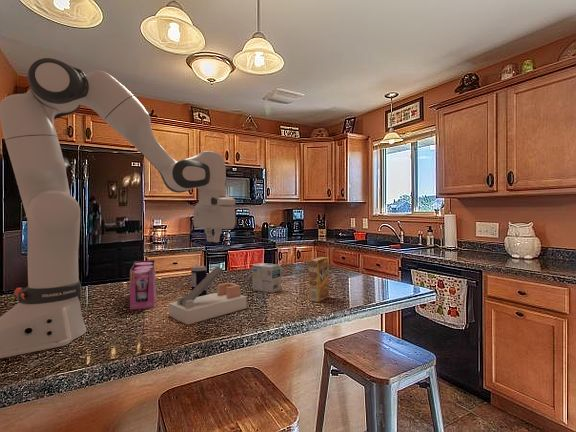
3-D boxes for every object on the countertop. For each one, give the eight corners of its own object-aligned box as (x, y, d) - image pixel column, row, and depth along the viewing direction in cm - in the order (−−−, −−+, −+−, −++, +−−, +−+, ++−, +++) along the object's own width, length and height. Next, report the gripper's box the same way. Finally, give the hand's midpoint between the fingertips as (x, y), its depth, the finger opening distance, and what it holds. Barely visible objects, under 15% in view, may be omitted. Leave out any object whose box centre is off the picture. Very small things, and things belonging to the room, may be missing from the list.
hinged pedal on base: (187, 324, 96) (187, 299, 96) (168, 315, 105) (168, 292, 104) (246, 308, 112) (246, 286, 112) (226, 301, 120) (225, 281, 120)
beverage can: (202, 300, 123) (202, 268, 122) (188, 299, 124) (188, 267, 123) (209, 296, 128) (208, 265, 128) (195, 295, 129) (195, 265, 129)
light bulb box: (281, 289, 137) (281, 264, 137) (272, 293, 132) (272, 266, 132) (261, 286, 143) (261, 262, 143) (251, 290, 138) (251, 264, 137)
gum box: (154, 308, 112) (153, 269, 112) (129, 311, 110) (128, 271, 109) (156, 292, 135) (155, 259, 135) (134, 294, 132) (134, 260, 132)
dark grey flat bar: (187, 307, 100) (185, 305, 100) (180, 304, 103) (179, 302, 103) (223, 270, 110) (222, 268, 109) (216, 269, 113) (215, 267, 112)
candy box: (318, 302, 118) (318, 260, 118) (308, 300, 120) (308, 259, 120) (329, 297, 125) (329, 257, 125) (319, 295, 128) (319, 256, 127)
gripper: (188, 201, 114) (188, 240, 114) (222, 199, 100) (222, 244, 100) (204, 201, 119) (204, 239, 119) (238, 199, 104) (239, 243, 104)
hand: (213, 241), depth 109 cm, fingers open, 2 cm apart
